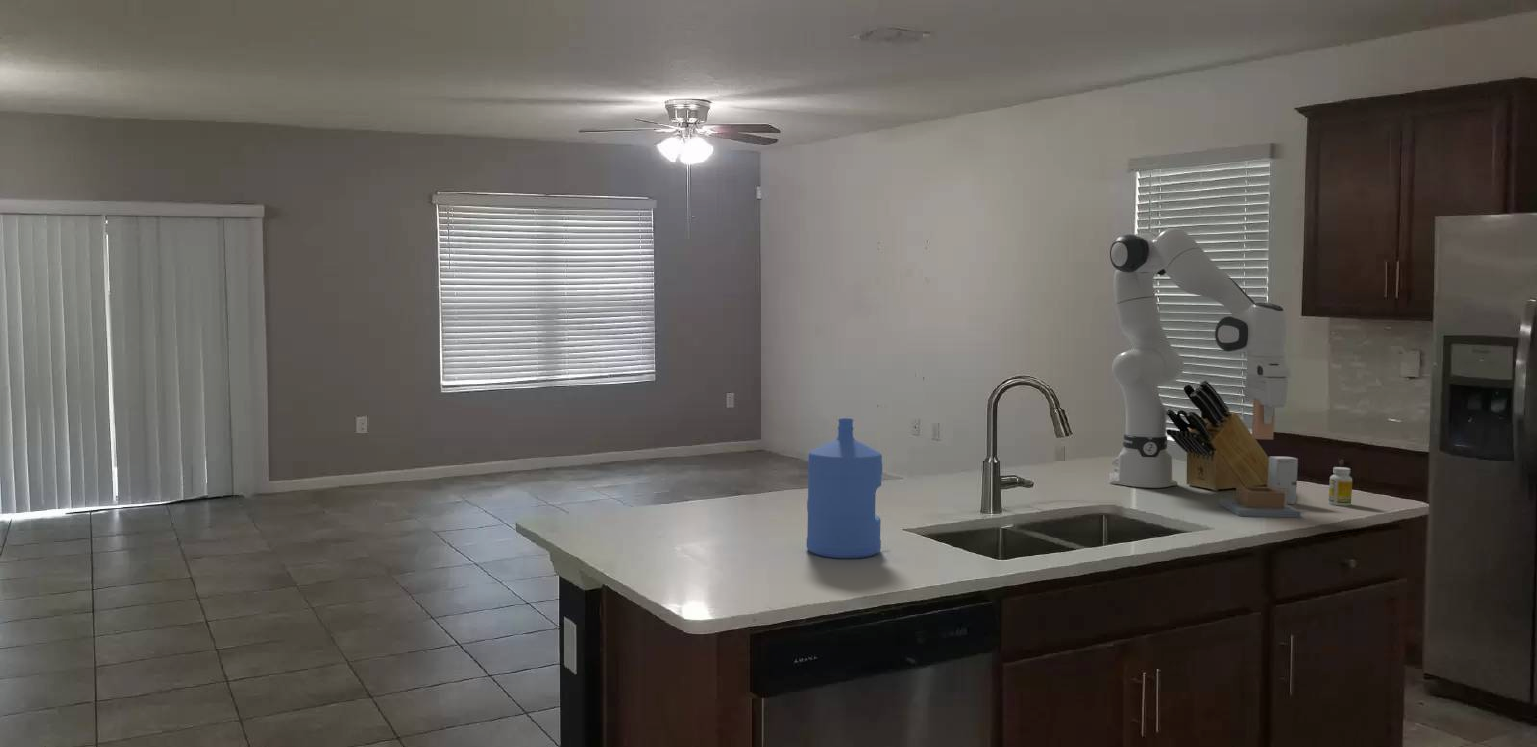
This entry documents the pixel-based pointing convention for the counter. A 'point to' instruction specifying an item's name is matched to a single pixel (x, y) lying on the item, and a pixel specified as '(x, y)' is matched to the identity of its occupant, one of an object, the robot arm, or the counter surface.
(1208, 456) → the knife block
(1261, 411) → the terracotta peg
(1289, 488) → the skincare box
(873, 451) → the water jug
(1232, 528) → the counter surface
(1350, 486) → the supplement bottle
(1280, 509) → the collar socket
